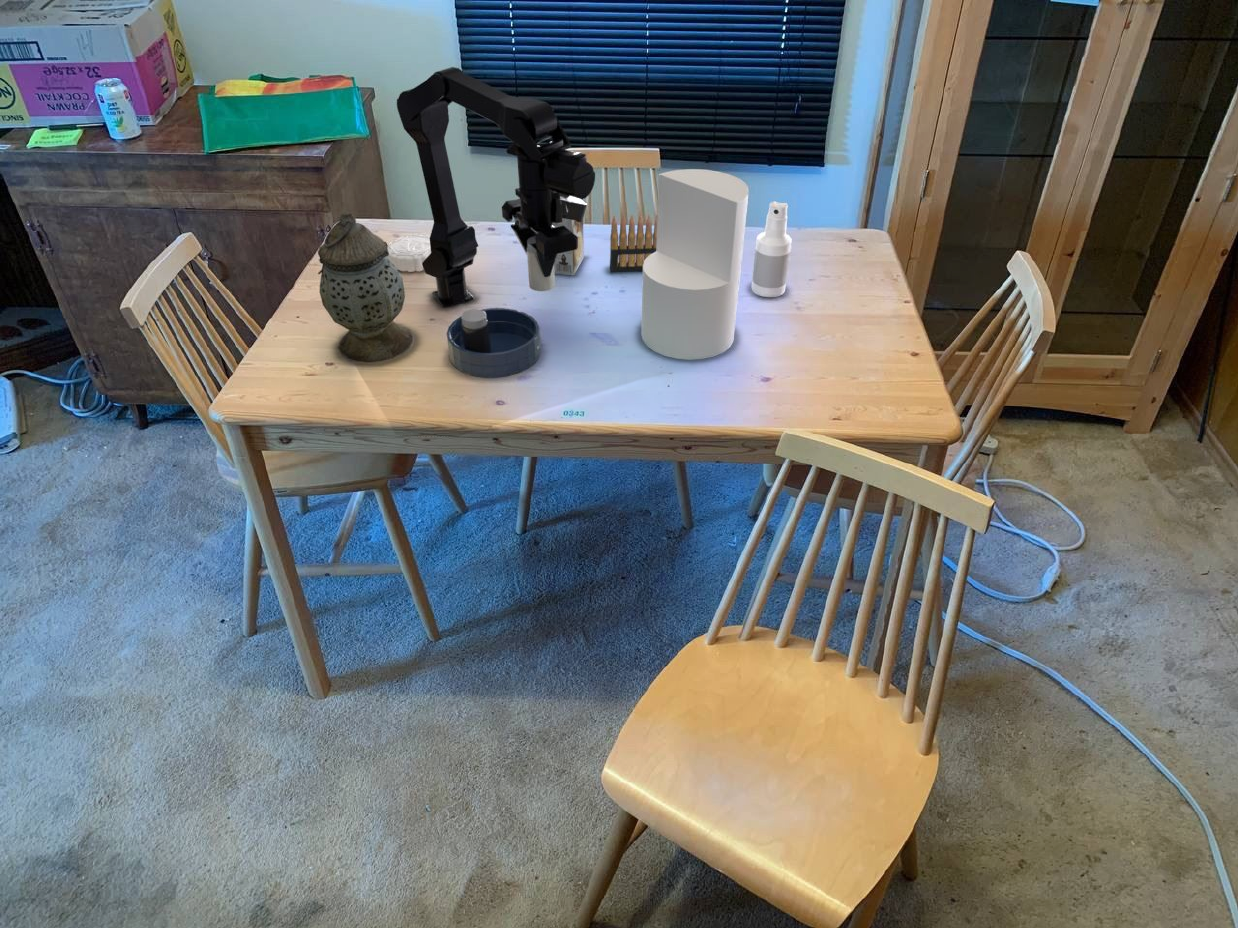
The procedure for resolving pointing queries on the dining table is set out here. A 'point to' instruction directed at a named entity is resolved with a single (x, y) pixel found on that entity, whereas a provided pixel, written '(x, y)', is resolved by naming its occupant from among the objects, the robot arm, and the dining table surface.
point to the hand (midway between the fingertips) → (541, 271)
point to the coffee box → (571, 259)
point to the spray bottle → (772, 254)
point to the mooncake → (409, 252)
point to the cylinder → (694, 264)
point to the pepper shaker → (476, 331)
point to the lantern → (363, 292)
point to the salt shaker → (537, 271)
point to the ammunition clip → (631, 245)
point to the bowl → (498, 345)
